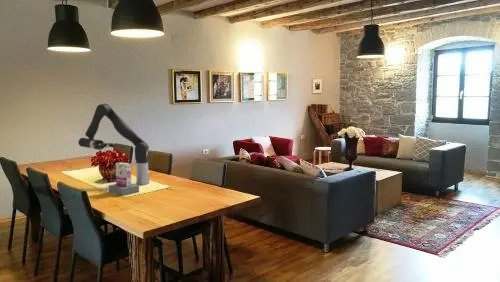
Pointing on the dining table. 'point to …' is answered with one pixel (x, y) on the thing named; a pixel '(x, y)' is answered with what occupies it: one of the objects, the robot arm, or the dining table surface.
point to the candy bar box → (123, 174)
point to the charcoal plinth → (123, 189)
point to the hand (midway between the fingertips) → (108, 146)
